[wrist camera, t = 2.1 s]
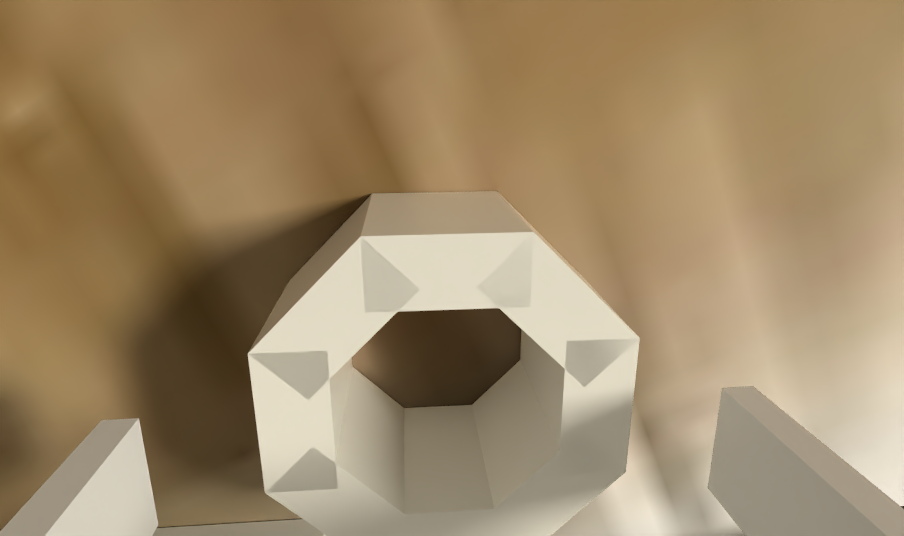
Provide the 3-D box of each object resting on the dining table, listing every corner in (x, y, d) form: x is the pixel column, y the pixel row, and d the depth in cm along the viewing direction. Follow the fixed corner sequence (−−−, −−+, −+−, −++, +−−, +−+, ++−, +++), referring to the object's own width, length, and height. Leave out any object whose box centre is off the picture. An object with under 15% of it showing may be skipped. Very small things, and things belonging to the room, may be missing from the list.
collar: (281, 195, 17) (233, 239, 12) (583, 189, 17) (650, 229, 13) (306, 458, 20) (275, 578, 15) (566, 444, 20) (617, 554, 15)
